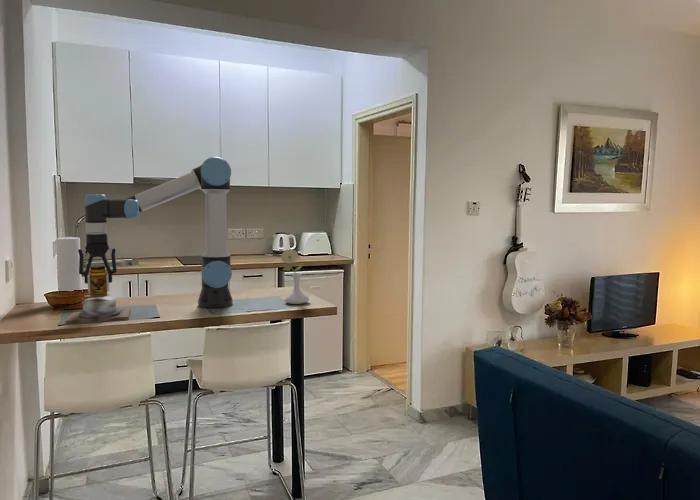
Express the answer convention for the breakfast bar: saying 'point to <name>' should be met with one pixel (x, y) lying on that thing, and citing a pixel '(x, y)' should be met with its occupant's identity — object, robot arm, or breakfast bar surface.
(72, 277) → the cylinder container
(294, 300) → the flower in vase
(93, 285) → the condiment
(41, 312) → the breakfast bar surface
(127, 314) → the duct base
